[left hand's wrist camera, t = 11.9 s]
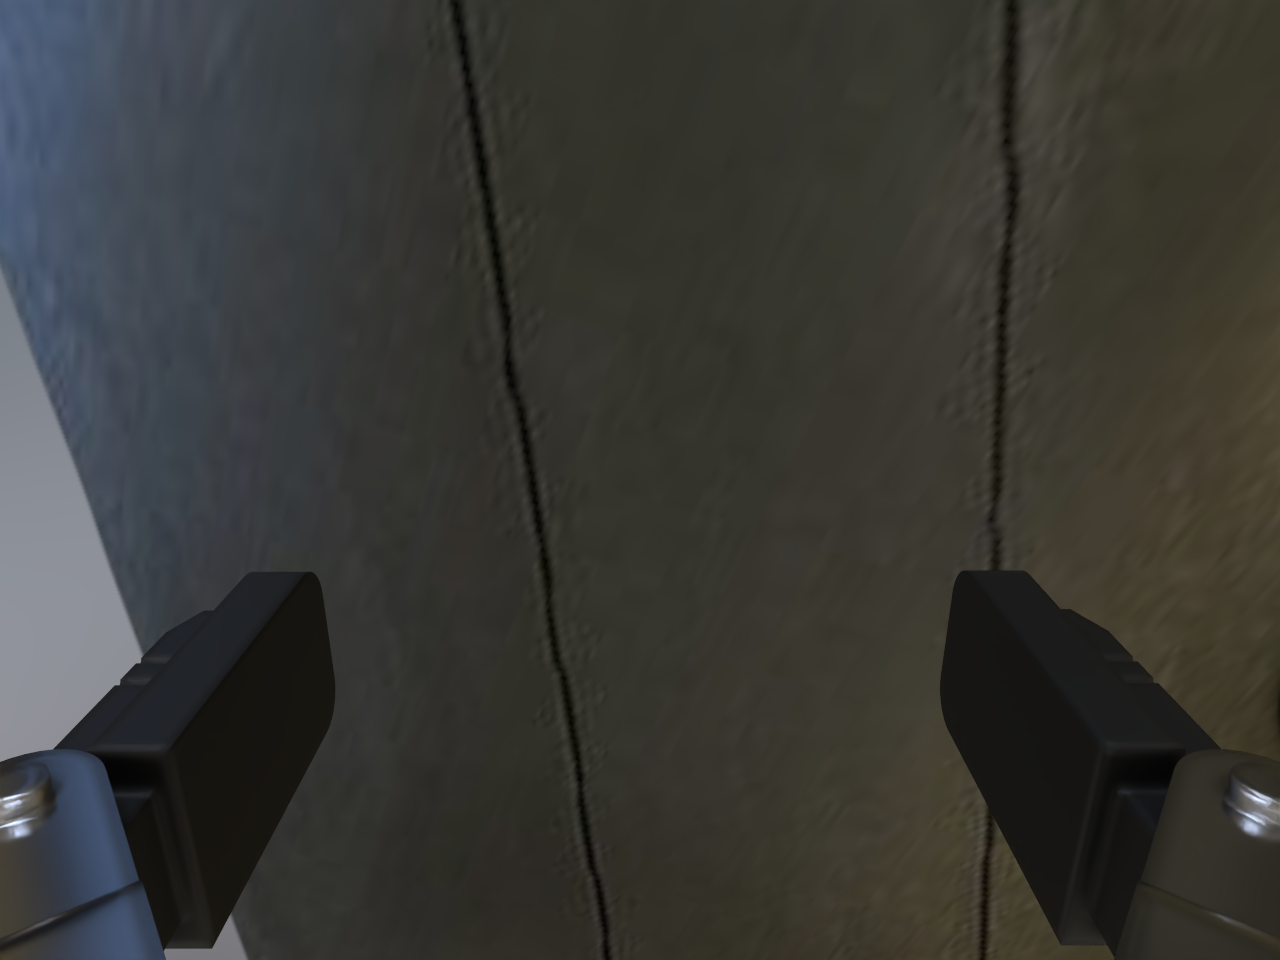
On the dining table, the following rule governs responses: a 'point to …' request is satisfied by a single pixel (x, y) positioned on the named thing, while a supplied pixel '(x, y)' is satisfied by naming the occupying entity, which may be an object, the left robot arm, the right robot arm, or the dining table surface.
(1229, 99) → the dining table surface
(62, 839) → the left robot arm
